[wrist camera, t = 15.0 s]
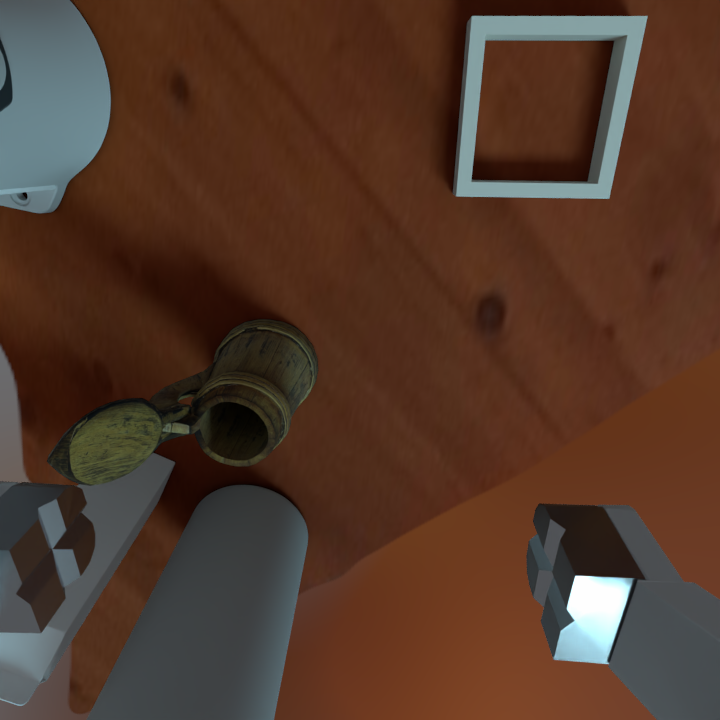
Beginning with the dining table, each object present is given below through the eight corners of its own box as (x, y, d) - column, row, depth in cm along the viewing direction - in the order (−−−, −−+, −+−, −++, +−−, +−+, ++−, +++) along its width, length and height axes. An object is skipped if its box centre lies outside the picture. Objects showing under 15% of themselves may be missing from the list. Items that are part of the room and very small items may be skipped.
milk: (158, 501, 52) (16, 732, 32) (103, 478, 51) (-79, 702, 31) (176, 460, 50) (35, 682, 30) (119, 435, 49) (-68, 647, 29)
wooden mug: (174, 293, 42) (40, 393, 26) (327, 332, 43) (291, 452, 27) (166, 382, 46) (44, 519, 29) (307, 417, 47) (264, 568, 30)
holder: (452, 193, 38) (456, 196, 36) (467, 22, 33) (471, 15, 31) (598, 195, 37) (609, 198, 35) (632, 22, 33) (647, 16, 31)
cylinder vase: (264, 586, 56) (181, 890, 34) (172, 529, 53) (13, 820, 31) (332, 525, 52) (292, 826, 29) (236, 459, 49) (108, 737, 26)
